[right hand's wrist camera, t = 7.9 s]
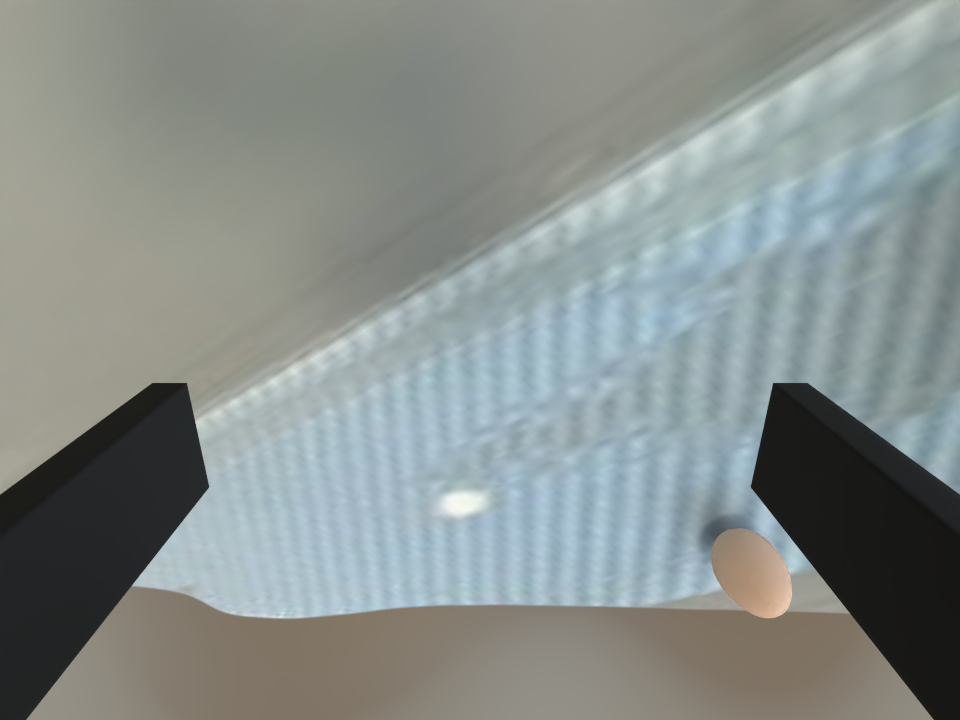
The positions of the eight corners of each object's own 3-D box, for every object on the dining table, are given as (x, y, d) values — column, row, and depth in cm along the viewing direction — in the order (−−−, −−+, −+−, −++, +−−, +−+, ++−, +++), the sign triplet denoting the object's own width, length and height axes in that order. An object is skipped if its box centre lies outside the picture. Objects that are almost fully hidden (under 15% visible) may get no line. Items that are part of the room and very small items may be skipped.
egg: (710, 569, 49) (752, 647, 42) (689, 526, 47) (730, 600, 40) (767, 546, 48) (821, 622, 41) (748, 502, 47) (801, 573, 39)
